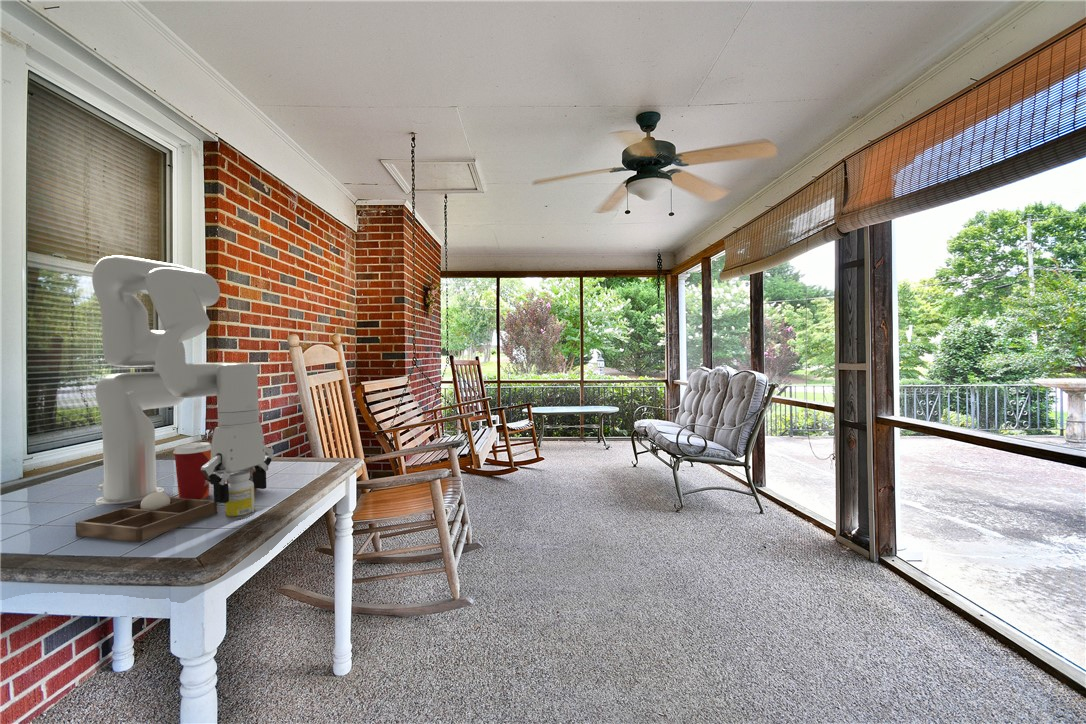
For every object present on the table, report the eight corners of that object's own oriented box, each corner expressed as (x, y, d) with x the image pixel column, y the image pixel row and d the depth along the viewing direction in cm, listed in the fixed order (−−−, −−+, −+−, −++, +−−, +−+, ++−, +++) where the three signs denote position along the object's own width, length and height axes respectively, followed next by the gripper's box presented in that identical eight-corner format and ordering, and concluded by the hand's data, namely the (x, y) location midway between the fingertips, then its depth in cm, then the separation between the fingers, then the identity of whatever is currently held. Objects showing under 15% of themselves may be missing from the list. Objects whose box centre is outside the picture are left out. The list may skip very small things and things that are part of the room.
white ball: (134, 518, 95) (133, 495, 95) (159, 509, 100) (158, 488, 100) (152, 519, 94) (152, 496, 94) (176, 511, 99) (176, 489, 99)
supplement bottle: (235, 512, 101) (234, 470, 101) (259, 511, 102) (258, 469, 102) (219, 521, 96) (218, 476, 96) (246, 520, 96) (245, 476, 96)
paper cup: (220, 498, 111) (219, 443, 110) (185, 508, 104) (183, 449, 104) (202, 494, 114) (201, 440, 114) (166, 504, 107) (165, 446, 107)
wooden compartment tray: (76, 539, 87) (75, 522, 87) (160, 511, 102) (160, 496, 102) (139, 547, 83) (138, 529, 83) (217, 516, 99) (216, 501, 99)
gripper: (257, 413, 108) (259, 483, 108) (186, 424, 91) (189, 507, 91) (283, 413, 106) (286, 484, 106) (216, 425, 89) (219, 509, 89)
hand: (241, 495), depth 99 cm, fingers open, 9 cm apart
